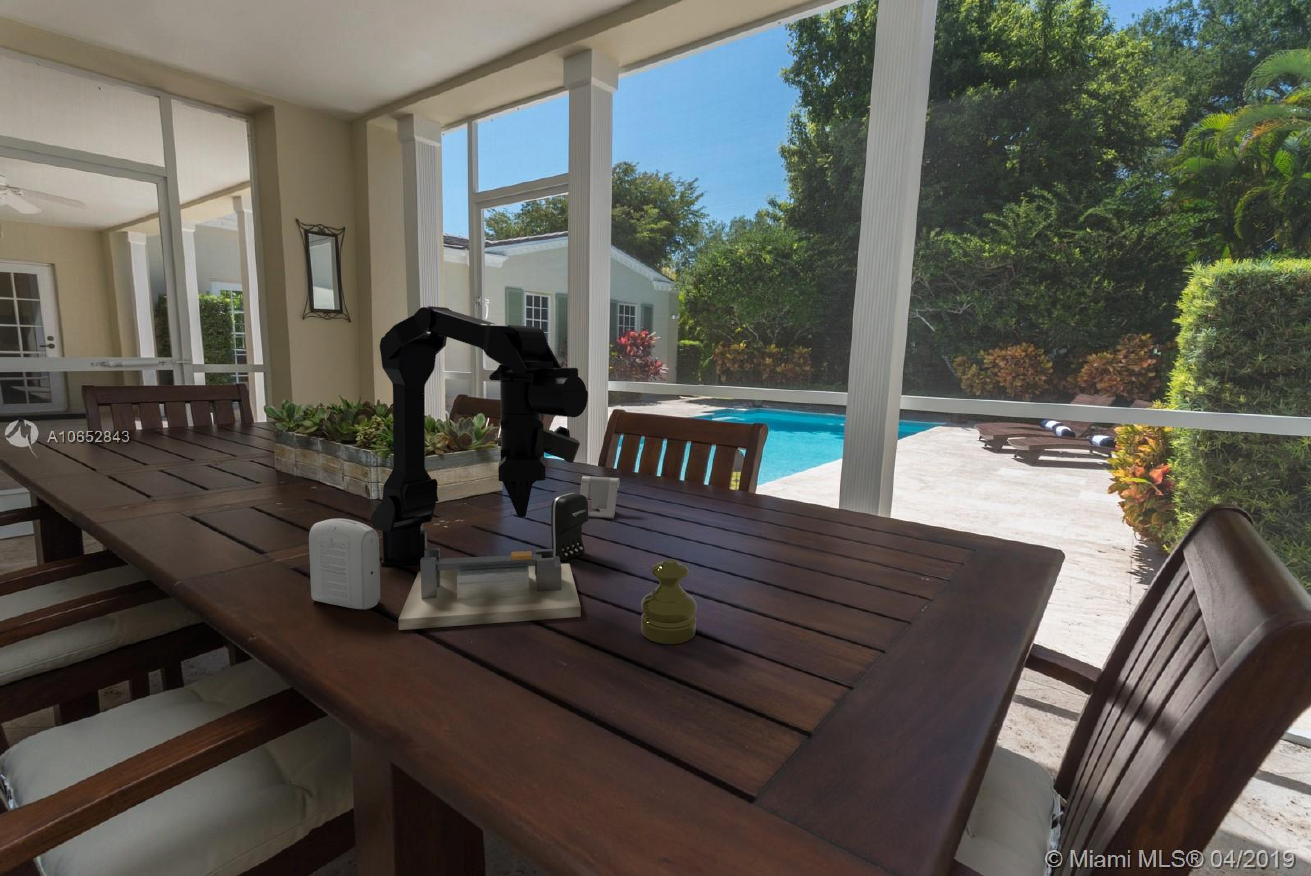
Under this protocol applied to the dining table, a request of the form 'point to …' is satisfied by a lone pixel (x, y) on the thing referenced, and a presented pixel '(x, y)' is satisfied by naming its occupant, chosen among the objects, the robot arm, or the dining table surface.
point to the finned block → (492, 583)
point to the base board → (488, 604)
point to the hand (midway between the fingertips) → (521, 516)
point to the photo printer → (344, 563)
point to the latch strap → (489, 561)
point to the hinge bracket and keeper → (545, 578)
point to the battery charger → (568, 525)
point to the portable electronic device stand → (601, 494)
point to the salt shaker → (669, 606)
